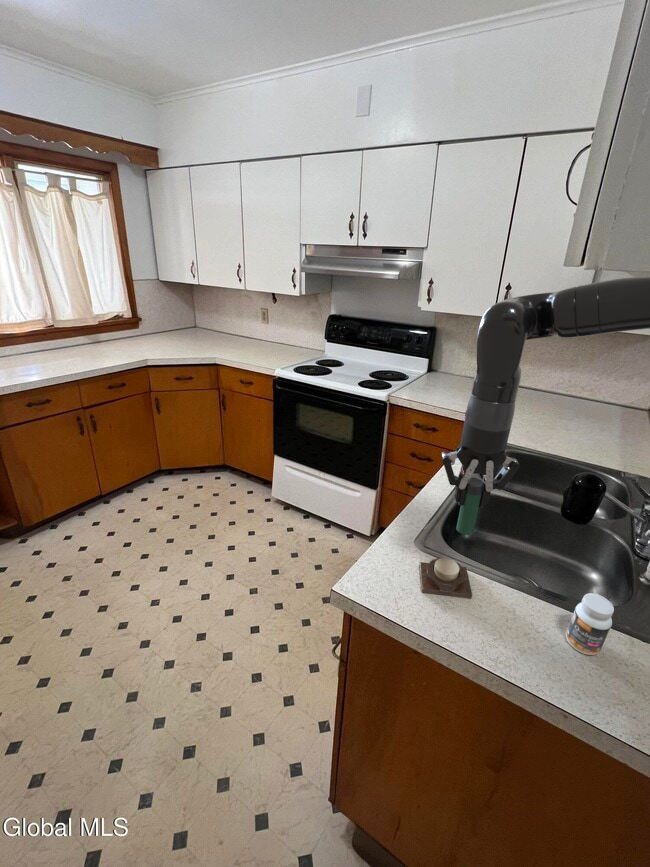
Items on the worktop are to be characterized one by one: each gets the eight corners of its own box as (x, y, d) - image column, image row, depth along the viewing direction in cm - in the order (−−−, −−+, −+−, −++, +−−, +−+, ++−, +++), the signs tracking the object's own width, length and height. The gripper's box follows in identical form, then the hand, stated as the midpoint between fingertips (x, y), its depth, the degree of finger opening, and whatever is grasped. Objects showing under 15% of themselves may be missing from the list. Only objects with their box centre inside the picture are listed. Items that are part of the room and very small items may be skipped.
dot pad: (456, 565, 92) (457, 559, 91) (459, 582, 87) (461, 576, 87) (432, 563, 92) (433, 556, 92) (434, 579, 88) (436, 573, 87)
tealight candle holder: (465, 571, 94) (467, 560, 93) (471, 599, 87) (473, 588, 85) (419, 565, 95) (421, 555, 94) (421, 593, 88) (423, 582, 87)
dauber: (471, 525, 84) (482, 478, 79) (474, 536, 81) (485, 487, 76) (455, 524, 84) (464, 476, 79) (457, 534, 81) (467, 485, 77)
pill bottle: (565, 649, 77) (580, 609, 72) (564, 625, 81) (578, 586, 77) (601, 661, 74) (619, 621, 70) (598, 636, 79) (615, 597, 75)
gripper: (448, 426, 70) (434, 512, 77) (538, 433, 68) (514, 520, 76) (443, 409, 77) (430, 489, 84) (524, 415, 75) (504, 496, 83)
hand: (470, 503), depth 80 cm, fingers closed on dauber, 3 cm apart
